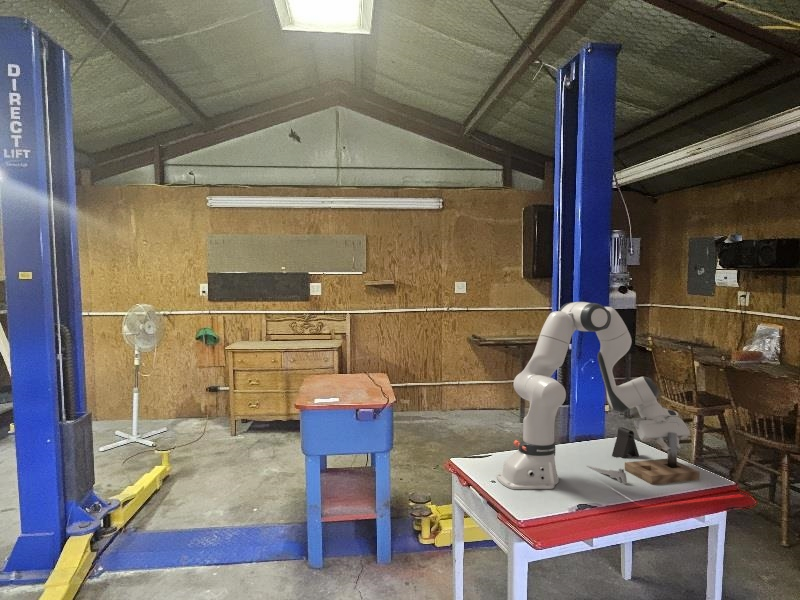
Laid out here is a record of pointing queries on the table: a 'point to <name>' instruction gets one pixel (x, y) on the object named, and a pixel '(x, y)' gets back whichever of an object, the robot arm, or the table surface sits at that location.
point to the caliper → (613, 474)
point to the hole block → (661, 471)
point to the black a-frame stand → (625, 444)
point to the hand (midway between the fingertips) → (673, 449)
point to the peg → (672, 450)
